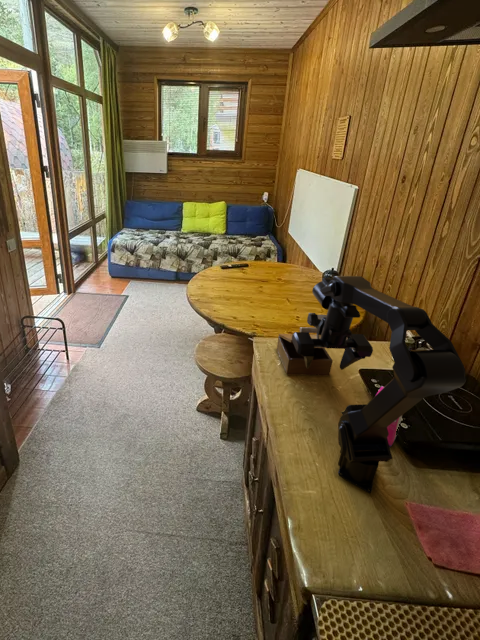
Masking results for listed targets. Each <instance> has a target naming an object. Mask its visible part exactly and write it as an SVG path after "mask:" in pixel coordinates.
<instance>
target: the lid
mask: <svg viewBox="0 0 480 640" xmlns="http://www.w3.org/2000/svg"><path fill="white" fill-rule="evenodd" d="M299 332H309V334H310V336H311V338H312V339H320V337H321V336H320V335H318V334H317V328H316V327H310V326H309V327H306V326H305V327H304V326H302V327H299ZM292 335H293V333H278V336H280V337H282V338H283V339H285V340H287V341H289V342H291V343H293V341H292Z"/></svg>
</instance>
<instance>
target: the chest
mask: <svg viewBox="0 0 480 640" xmlns="http://www.w3.org/2000/svg"><path fill="white" fill-rule="evenodd" d="M276 352H277V355H278V357H279V359H280V363H281V364H282V368H283V370H284V372H285V374H286V375H288V376H322V377H323V376H327V377H328V376H330V375H331V371H332V367H333V366H332V365H333V361H334V360H333V359H332V357H331V356H330V354H329V353H328V351H327V349H326V348H315V351H314V353H313V355H314V357H313V360H312V362H311V365H310V367H309V368H308V369H307V368H306V364H305V359H304V357H303V356H302V355H300V354H298V353H297V351H296V349H295V346H294V344H293V343H291V342H289V341H287V340H285V339H283V338H282V337H280V336H279V335H278V337H277V343H276Z"/></svg>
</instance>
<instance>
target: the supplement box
mask: <svg viewBox="0 0 480 640" xmlns="http://www.w3.org/2000/svg"><path fill="white" fill-rule="evenodd" d="M384 387H385V386H383V385H381V386H380V388H379V390H378V391H377V392H376V394H375V396H376V395H377V394H378V393H379V392H380V391H381V390H382V389H383V388H384ZM402 418H403V415H402V416H400V417H399V418H398V419H397V420H395V421H394V422H393V423H391V424H390V425H389V426H388V427H387V430H388V433H389V435H388V437H387V440H388V443H389V447H390V448H392V446H393V444H394V442H395V441H396V438H397V436H398V434H397V435H396V431H397V429H398V427H399V428H400V426H399V424H400V425H401V421H402V420H403V419H402ZM398 430H399V429H398Z"/></svg>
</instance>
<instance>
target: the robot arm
mask: <svg viewBox="0 0 480 640" xmlns="http://www.w3.org/2000/svg"><path fill="white" fill-rule="evenodd" d="M312 295H313V296H314V297H315V299H316V301H318V303H319V305H320V306H321V308H322V309H324V310H326V311H327V312H326V314H317V313H316V312H308V315H307V319H306V322H307V323H306V324H308V325H309V327H313V328H317V333H316V335H317V334H318V335H320V336H321V337H320V339H312V338H311V336H310V335H311V333H309V332H300V331H294V332H293V333H292V334H293V335H292V341H293V344H294V346H295V349H296V351H297V353H298V354H300V355H302V356H303V357H304V359H305V364H306V368H307V369H308V368H309V367H310V365H311V362H312V360H313V357H314V355H313V353H314V351H315V348H325V349H335V350H336V349H337V350H338V349H339V350H340V349H341V350H344V351H343V354H342V356H341V360H340V363H339V368H340V370H345V369H346V368H348V367H349V366H351V365H353V364H354V363H356V362H359V361H360V360H364V359H366V358H371V356H372V355H373V352H374V347H373V346H372V344H371V343H370V342H369V340H368V338H367V337H366V336H365V334H363V333H353V332H352V331H351V325H352V322H353V319H354V318H355V319H356V318H357V319H359V318H361V313H360V311H359V310H358V308H357V307H359V308H360V309H363V310H364V311H366V312H367V313H369V314H371V315H373V316H375V317H376V318H378V319H379V320H381V321H383V322H385V323H387V324H388V326H389V328H390V331H391V335H390V341H389V348H388V349H389V352H390V355H391V356H392V360H393V362H394V363H393V365H392V371H393V375H394V377H393V378H392V379H391V380H389V382H388V383H387V384H385V386H383V387H384V388H383V389H382V390H381V391H380V392H379V393H378V392H377V393H378V394H377V393H376V394H377V395H376V394H375V396H373V398H371V400H369V402H367V403H366V404H363V403H362V404H348V405H347V406H346V407H345V409H344V410H343V411H341V412H340V414H341V416H340V417H339V421H338V424H337V425H338V427H337V432H338V433H337V438H338V439H337V441H338V442H337V443H338V445H339V447H340V450H339V454H340V455H339V459H338V464H337V465H338V467H339V469H338V473H337V474H338V476H339V477H341V478H342V479H344V480H346V481H347V482H349V483H350V484H352V485H354V486H356V487H357V488H359V489H362V490H363V491H364V492H366V493H368V494H372V492H373V486H374V483H375V482H374V481H375V478H376V474H377V471H378V468H379V464H380V463H381V462H385V463H388V462H390V461H392V459H393V456H392V452H391V447H389V443H388V440H387V437H388V435H389V433H388V430H387V427H388V426H389V425H390V424H391V423H393V422H394V421H395V420H397V419H398V418H399V417H400V416H402V417H403V415H404V414H405V413H407V412H408V411H409V410H411V409H412V408H413V407H415V406H416V405H417V404H418V403H420V402H421V401H422V400H423V399H425V398H427V397H431V396H435V395H441V394H445V393H448V392H451V391H454V390H456V389H459V388H462V387H463V386H464V385H465V384H466V381H467V376H466V368H465V365H464V362H463V361H462V360H461V359H462V358H460V356H459V354H458V351H457V349H456V348H455V346H454V344H453V342H452V341H451V340H450V339H449V338H448V337H447V336H446V335H445V334H444V333H443V332H442V331H441V330H440V329H439V328H438V327H437V326H435V325H434V324H433V322H432V320H431V318H430V317H429V314H428V313H427V312H426V310H425V309H423V308H420V307H418V306H413V305H411V304H409V303H407V302H404V301H402V300H399V299H397V298H395V297H393V296H391V295H388V294H386V293H384V292H381V291H379V290H377V289H375V288H373V287H372V283H371V282H370V281H369V280H367V279H366V278H364V277H363V276H361V275H333V277H332V278H331V277H322V280H321V281H319V282H317V283H316V284H315V285H314V287H312ZM408 331H415V332H416V334H417V335H418V336H419V337H420V338H421V339H422V340H423V341H424V342H426V344H427V345H429V347H431V348H432V349H410V350H409V348H408V346H407V344H406V340H407V333H408Z"/></svg>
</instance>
